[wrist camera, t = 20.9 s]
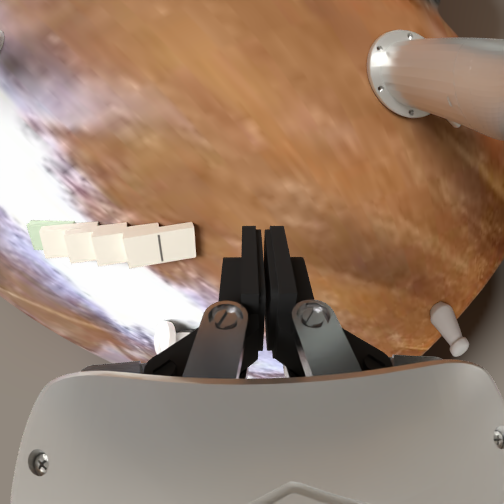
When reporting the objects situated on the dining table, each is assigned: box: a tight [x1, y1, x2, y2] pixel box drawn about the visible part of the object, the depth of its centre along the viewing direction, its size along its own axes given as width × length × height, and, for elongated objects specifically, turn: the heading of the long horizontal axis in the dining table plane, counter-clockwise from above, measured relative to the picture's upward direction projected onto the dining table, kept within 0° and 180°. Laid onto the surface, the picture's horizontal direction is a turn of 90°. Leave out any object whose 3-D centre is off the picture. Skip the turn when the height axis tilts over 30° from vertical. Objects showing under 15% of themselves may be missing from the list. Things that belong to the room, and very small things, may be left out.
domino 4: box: [123, 222, 196, 269], centre depth 39 cm, size 2×5×10 cm
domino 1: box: [39, 221, 99, 258], centre depth 38 cm, size 2×5×10 cm
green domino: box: [27, 220, 75, 250], centre depth 39 cm, size 2×5×10 cm
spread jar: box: [154, 321, 194, 354], centre depth 50 cm, size 12×11×12 cm
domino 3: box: [91, 223, 159, 266], centre depth 39 cm, size 2×5×10 cm
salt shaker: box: [430, 302, 469, 356], centre depth 48 cm, size 6×6×13 cm
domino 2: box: [63, 222, 127, 263], centre depth 39 cm, size 2×5×10 cm
